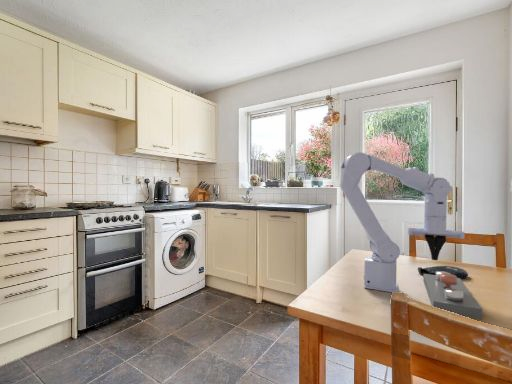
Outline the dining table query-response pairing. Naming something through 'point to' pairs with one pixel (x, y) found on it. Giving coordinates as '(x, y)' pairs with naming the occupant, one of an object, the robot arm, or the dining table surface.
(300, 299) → the dining table surface
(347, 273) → the dining table surface
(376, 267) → the robot arm
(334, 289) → the dining table surface
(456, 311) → the knob mount
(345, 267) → the dining table surface
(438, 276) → the far knob
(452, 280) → the middle knob
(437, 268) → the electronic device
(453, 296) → the near knob
